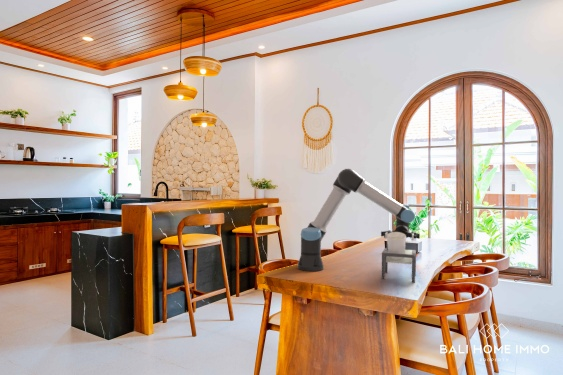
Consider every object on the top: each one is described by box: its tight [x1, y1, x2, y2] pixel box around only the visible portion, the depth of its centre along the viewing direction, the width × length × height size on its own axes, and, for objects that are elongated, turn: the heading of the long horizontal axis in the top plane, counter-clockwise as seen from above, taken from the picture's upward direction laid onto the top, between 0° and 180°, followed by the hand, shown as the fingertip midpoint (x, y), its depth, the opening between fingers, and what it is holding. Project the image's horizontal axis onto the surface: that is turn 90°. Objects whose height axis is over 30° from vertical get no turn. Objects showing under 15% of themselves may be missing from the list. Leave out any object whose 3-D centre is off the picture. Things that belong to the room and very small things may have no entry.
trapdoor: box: [386, 249, 414, 265], centre depth 209 cm, size 13×14×1 cm
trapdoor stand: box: [381, 247, 417, 284], centre depth 208 cm, size 17×18×14 cm
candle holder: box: [386, 231, 407, 260], centre depth 206 cm, size 10×10×12 cm
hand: (399, 236), depth 204 cm, fingers open, 13 cm apart
